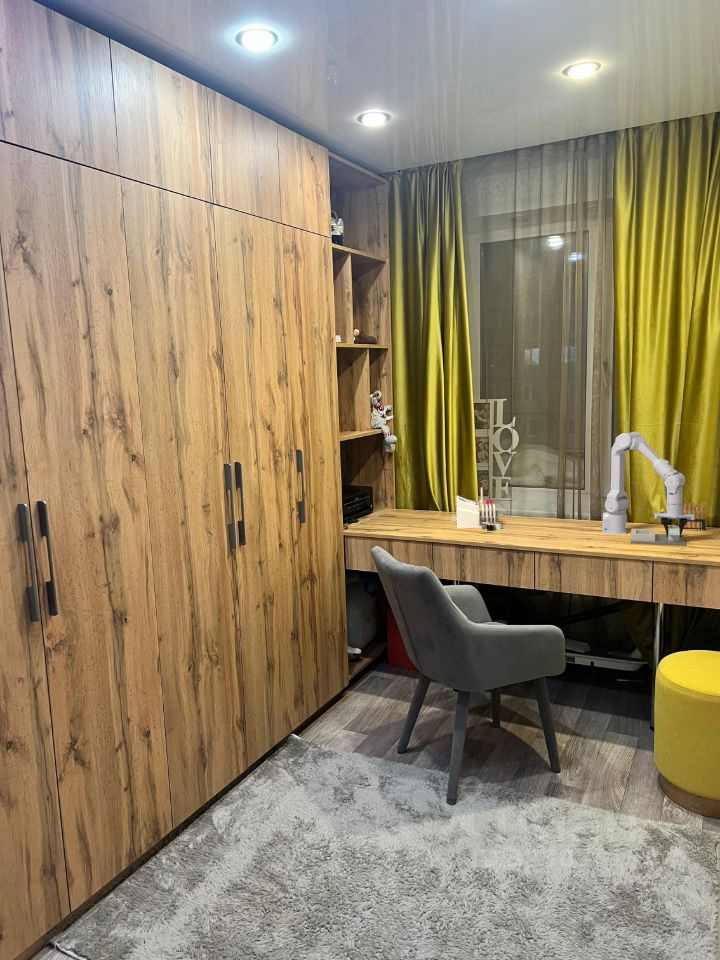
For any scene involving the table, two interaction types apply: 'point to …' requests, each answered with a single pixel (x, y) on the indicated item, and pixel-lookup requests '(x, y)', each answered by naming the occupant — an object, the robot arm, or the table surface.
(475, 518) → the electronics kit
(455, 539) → the table surface
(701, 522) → the ammunition clip
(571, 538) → the table surface
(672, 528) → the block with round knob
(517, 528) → the table surface
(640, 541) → the servo chassis
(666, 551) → the table surface
